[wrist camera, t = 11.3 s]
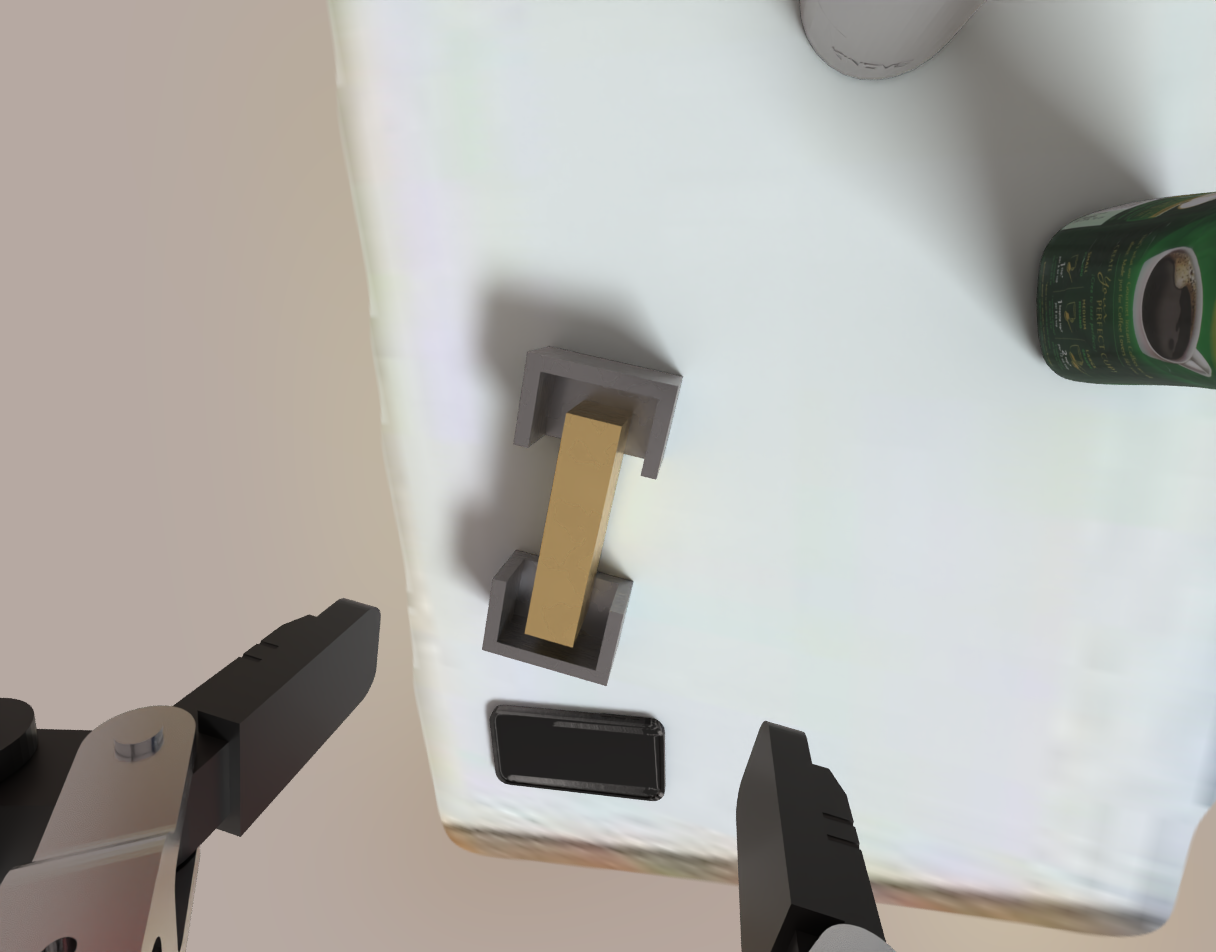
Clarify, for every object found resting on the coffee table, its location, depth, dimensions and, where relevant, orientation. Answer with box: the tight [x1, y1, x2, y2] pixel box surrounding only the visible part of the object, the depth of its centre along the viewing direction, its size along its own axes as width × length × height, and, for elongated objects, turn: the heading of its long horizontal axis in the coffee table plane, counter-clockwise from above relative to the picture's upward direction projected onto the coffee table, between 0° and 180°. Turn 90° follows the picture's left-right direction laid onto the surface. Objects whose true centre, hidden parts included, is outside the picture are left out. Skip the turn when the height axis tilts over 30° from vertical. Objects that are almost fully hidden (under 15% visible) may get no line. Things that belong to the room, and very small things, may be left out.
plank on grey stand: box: [482, 346, 683, 686], centre depth 41 cm, size 22×10×5 cm, turn 169°
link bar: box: [525, 400, 633, 648], centre depth 40 cm, size 16×4×5 cm, turn 168°
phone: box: [490, 705, 665, 801], centre depth 49 cm, size 8×1×15 cm
